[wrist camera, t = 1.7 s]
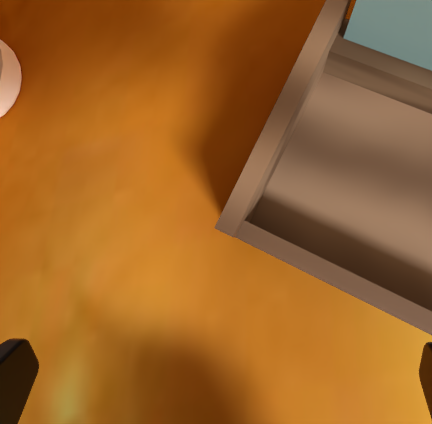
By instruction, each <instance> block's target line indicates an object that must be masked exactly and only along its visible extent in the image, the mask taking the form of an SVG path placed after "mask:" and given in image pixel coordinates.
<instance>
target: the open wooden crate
mask: <svg viewBox="0 0 432 424" xmlns="http://www.w3.org/2000/svg"><path fill="white" fill-rule="evenodd" d="M350 2H351V0H326V2H325V4H324V6H323V8H322V10H321V12H320V14H319V16H318V18H317V20H316V22H315V24H314V26H313V28H312V30H311V32H310V34H309V36H308V38H307V40H306V42H305V44H304V46H303V48H302V50H301V52H300V55H299V57H298V59H297V61H296V63H295V65H294V67H293V69H292V71H291V73H290V75H289V77H288V79H287V81H286V83H285V85H284V87H283V89H282V91H281V93H280V95H279V97H278V99H277V101H276V103H275V105H274V108H273V110H272V112H271V114H270V116H269V118H268V120H267V122H266V124H265V126H264V128H263V130H262V132H261V134H260V136H259V138H258V140H257V142H256V144H255V146H254V148H253V150H252V152H251V154H250V156H249V158H248V161H247V163H246V165H245V167H244V169H243V171H242V173H241V175H240V177H239V179H238V181H237V183H236V185H235V187H234V189H233V191H232V193H231V195H230V197H229V199H228V201H227V203H226V205H225V207H224V209H223V211H222V214H221V216H220V218H219V220H218V222H217V224H216V226H215V228H216V229H218V230H220V231H222V232H224V233H226V234H228V235H230V236H232V237H236V238H238V239H240V240H242V241H244V242H246V243H248V244H250V245H252V246H254V247H256V248H258V249H260V250H262V251H264V252H266V253H268V254H270V255H272V256H274V257H276V258H278V259H280V260H282V261H284V262H286V263H288V264H290V265H292V266H294V267H296V268H298V269H300V270H302V271H304V272H306V273H308V274H310V275H312V276H314V277H316V278H318V279H320V280H322V281H324V282H326V283H328V284H330V285H332V286H334V287H336V288H338V289H340V290H342V291H344V292H346V293H348V294H350V295H352V296H354V297H356V298H358V299H360V300H362V301H364V302H366V303H368V304H370V305H372V306H374V307H376V308H378V309H380V310H382V311H384V312H386V313H388V314H390V315H392V316H394V317H397V318H399V319H401V320H403V321H405V322H407V323H409V324H411V325H413V326H415V327H417V328H419V329H421V330H423V331H425V332H427V333H429V334H431V335H432V71H431V70H428V69H426V68H423V67H420V66H417V65H415V64H412V63H409V62H406V61H404V60H401V59H398V58H396V57H393V56H390V55H387V54H385V53H382V52H379V51H376V50H374V49H371V48H368V47H365V46H363V45H360V44H357V43H355V42H352V41H349V40H346V39H344V35H345V32H346V29H347V26H348V23H349V20H348V19H345V18H346V14H347V11H348V8H349V5H350Z"/></svg>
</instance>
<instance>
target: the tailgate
mask: <svg viewBox="0 0 432 424" xmlns="http://www.w3.org/2000/svg"><path fill="white" fill-rule="evenodd" d="M344 39H346V40H349V41H352V42H355V43H357V44H360V45H363V46H365V47H368V48H371V49H374V50H376V51H379V52H382V53H385V54H387V55H390V56H393V57H396V58H398V59H401V60H404V61H406V62H409V63H412V64H415V65H417V66H420V67H423V68H426V69H428V70H431V71H432V0H356V3H355V6H354V9H353V12H352V15H351V18H350V20H349V23H348V26H347V29H346V32H345V35H344Z"/></svg>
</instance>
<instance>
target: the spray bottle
mask: <svg viewBox="0 0 432 424" xmlns="http://www.w3.org/2000/svg"><path fill="white" fill-rule="evenodd" d="M21 81H22V74H21V66H20V64H19V62H18V59H17V57H16V55H15V53H14V51H13V50H12V49H11V48H10V47H9V46H8V45H6V44H5V43H4V42H3V41H2V40H0V117H2V116H3V115H5V114H6V113H7V111H8V110H9V109H10V108H11V107H12V106H13V105H14V103H15V101H16V99H17V96H18V94H19V92H20V87H21Z"/></svg>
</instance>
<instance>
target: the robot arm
mask: <svg viewBox="0 0 432 424" xmlns="http://www.w3.org/2000/svg"><path fill="white" fill-rule="evenodd" d="M38 369H39V362H38V359H37V357H36V355H35V353H34V351H33V349H32V347H31V345H30V343H29V341H28V340H26V339H9V340H7V341H5V342H4V343H2V344H0V424H18V422H19V419H20V417H21V414H22V412H23V409H24V406H25V404H26V401H27V399H28V396H29V394H30V391H31V389H32V386H33V383H34V381H35V378H36V376H37V373H38ZM419 377H420V382H421V385H422V388H423V392H424V395H425V399H426V402H427V405H428V409H429V412H430V415H431V419H432V342H428V343H426V344H425V345H424V348H423V353H422V358H421V363H420V368H419Z"/></svg>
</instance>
